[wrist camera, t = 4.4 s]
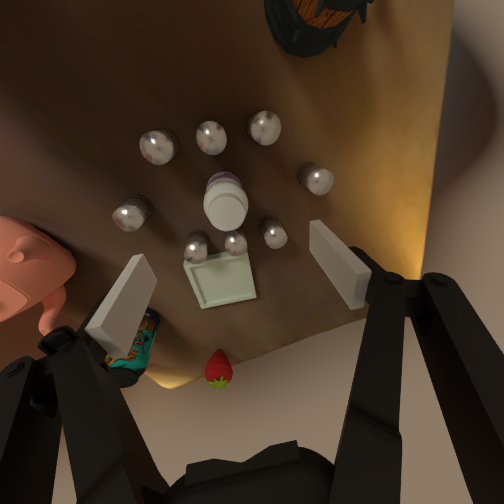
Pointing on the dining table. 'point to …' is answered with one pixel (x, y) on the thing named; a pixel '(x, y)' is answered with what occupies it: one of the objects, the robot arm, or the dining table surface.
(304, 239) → the dining table surface
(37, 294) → the teapot
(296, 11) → the mug
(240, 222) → the pill bottle
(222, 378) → the strawberry
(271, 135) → the posts
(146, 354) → the beverage can
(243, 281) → the tray
